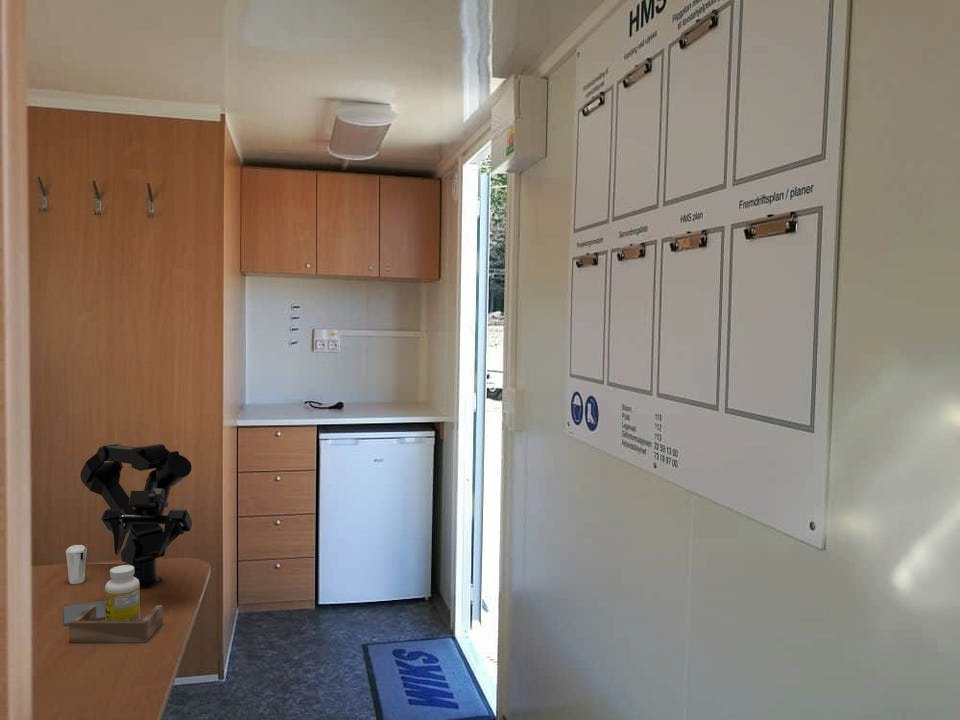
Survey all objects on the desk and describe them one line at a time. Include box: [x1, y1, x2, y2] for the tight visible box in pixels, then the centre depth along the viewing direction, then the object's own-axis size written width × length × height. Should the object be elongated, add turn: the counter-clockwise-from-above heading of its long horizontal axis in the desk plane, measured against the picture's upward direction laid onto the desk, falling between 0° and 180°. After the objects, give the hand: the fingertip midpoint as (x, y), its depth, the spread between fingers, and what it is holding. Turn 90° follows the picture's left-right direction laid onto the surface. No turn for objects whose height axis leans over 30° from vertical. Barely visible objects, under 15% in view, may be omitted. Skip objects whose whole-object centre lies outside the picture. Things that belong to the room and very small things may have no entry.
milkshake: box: [65, 542, 89, 585], centre depth 181 cm, size 5×5×10 cm
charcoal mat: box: [63, 599, 105, 627], centre depth 163 cm, size 10×10×1 cm
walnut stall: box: [68, 604, 164, 643], centre depth 154 cm, size 9×15×4 cm, turn 93°
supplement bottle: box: [104, 564, 141, 621], centre depth 156 cm, size 7×7×13 cm
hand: (137, 554), depth 164 cm, fingers open, 9 cm apart
